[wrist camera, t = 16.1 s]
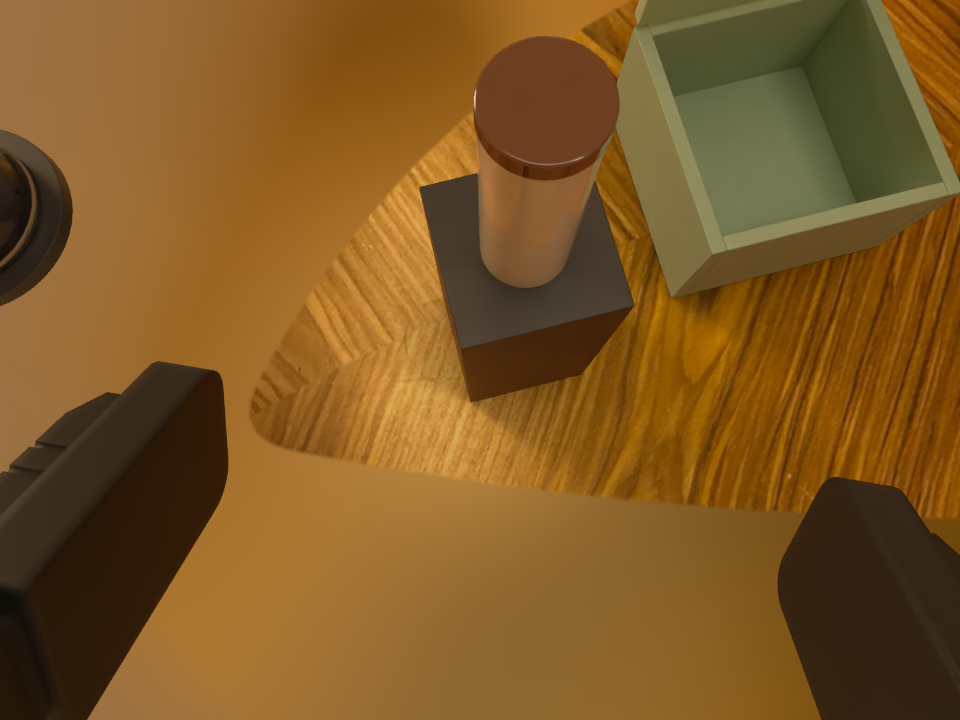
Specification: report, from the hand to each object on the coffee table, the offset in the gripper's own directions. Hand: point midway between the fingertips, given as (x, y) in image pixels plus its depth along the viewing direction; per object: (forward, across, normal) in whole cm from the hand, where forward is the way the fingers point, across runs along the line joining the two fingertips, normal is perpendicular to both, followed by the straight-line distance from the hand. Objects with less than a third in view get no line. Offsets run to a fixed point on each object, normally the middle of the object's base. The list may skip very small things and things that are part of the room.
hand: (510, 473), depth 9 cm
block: (+29, -1, +14) cm, 32 cm away
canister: (+18, 0, +4) cm, 19 cm away
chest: (+38, -14, +4) cm, 40 cm away
